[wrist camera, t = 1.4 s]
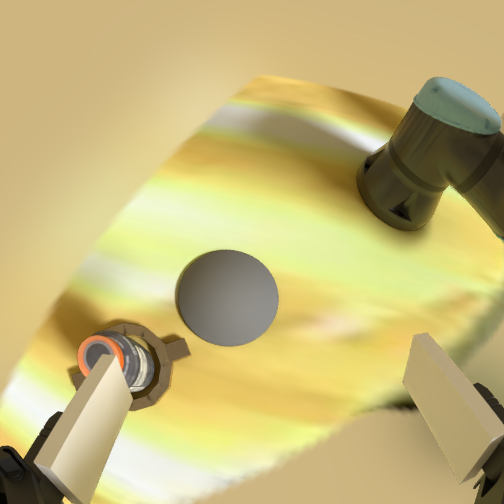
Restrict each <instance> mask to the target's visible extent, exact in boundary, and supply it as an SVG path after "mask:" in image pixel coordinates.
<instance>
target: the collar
mask: <svg viewBox="0 0 504 504" xmlns="http://www.w3.org/2000/svg"><path fill="white" fill-rule="evenodd" d="M105 330H112V331H116V332H119V333H121V334H123V335H125V336H127V335H129V336H134V337H139V338H143V339H145V340H146V341H147V342H148V343H149V344H150V345H152V346H153V347H154V348H155V350H156V353H157V356H158V358H159V361H160V364H161V369H160V375H159V382H158V384H157V385H156V386H155V387H154V389H153V390H152V391H151V392H150V393H149V395H148V396H145V397H142V398H139V399H135V400H133V401H132V403H131V406H130V408H129V411H136V410H139V409H143V408H146V407H149V406H152V405H155V404H157V403H158V402H159V401H160V399H161V398H162V397H163V396H164V395H165V393H166V392H167V391H168V390H169V389H170V387H171V380H172V373H173V362H176V361H178V360H181V359H184V358H187V357H189V356H191V353H190V351H189V348H188V346H187V343H186V341H185V339H184V338H183V339H180V340H177V341H174V342H171V343H169V344H165V343H164V342H163V341H162V340H160V339H159V338H158V337H157V336H156V335H155V334H153V333H152V332H151V331H150V330H149V329H148V328H146V327H143V326H138V325H134V324H129V323H122V324H119V325H116V326H113V327H110V328H107V329H105ZM72 379H73V382H74V385H75V388H76V391H78V389H79V388H80V386H81V385H82V383H83V382H84V380H85V377H84V375H83V373H82V372H80V373H77V374H73V375H72Z"/></svg>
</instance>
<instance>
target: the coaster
mask: <svg viewBox="0 0 504 504" xmlns="http://www.w3.org/2000/svg"><path fill="white" fill-rule="evenodd" d="M178 302H179V308H180V311H181V314H182V316H183V318H184V320H185V322H186V324H187V325H188V327H189V328H190V329H191V330H192V331H193V332H194V333H195V334H196V335H197V336H199V337H200V338H202V339H203V340H205V341H207V342H209V343H212V344H215V345H220V346H239V345H243V344H246V343H249V342H251V341H253V340H255V339H256V338H258V337H259V336H261V335H262V334H263V333H264V332H265V331H266V330H267V329H268V327H269V326H270V325H271V323H272V322H273V320H274V318H275V315H276V312H277V309H278V289H277V286H276V283H275V280H274V278H273V276H272V275H271V273H270V272H269V270H268V269H267V268H266V267H265V266H264V265H263V264H262V263H261V262H260V261H259V260H257V259H256V258H254V257H253V256H250V255H248V254H246V253H243V252H239V251H234V250H221V251H215V252H211V253H209V254H206V255H204V256H202V257H201V258H199V259H198V260H196V261H195V262H194V263H193V264H192V265H191V266H190V267H189V268H188V269H187V271H186V272H185V274H184V276H183V278H182V280H181V283H180V286H179V293H178Z"/></svg>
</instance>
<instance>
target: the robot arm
mask: <svg viewBox="0 0 504 504" xmlns="http://www.w3.org/2000/svg"><path fill="white" fill-rule="evenodd" d="M500 129H501V119H500V117H499V115H498V114H497V112H496V111H495V110H494V109H493V108H492V107H491V106H490V104H489V103H488V102H487V101H486V100H485V99H483V98H482V97H481V96H480V95H478V94H477V93H476V92H474V91H473V90H471V89H470V88H468V87H466V86H465V85H463V84H461V83H459V82H456V81H454V80H451V79H448V78H444V77H434V78H431V79H429V80H428V81H427V82H426V83H425V85H424V86H423V88H422V89H421V90H420V92H419V93H418V94H417V95H416V96H415V97H414V102H413V103H412V105H411V107H410V108H409V110H408V112H407V113H406V115H405V117H404V118H403V120H402V121H401V123H400V125H399V126H398V128H397V129H396V131H395V132H394V134H393V136H392V137H391V139H390V140H389V142H388V143H386V144H385V145H383V146H382V147H380V148H379V149H378V150H376V151H375V152H373V153H372V154H370V155H369V156H368V157H367V158H366V159H365V160H364V162H363V163H362V165H361V167H360V168H359V170H358V174H357V184H358V188H359V191H360V194H361V196H362V198H363V200H364V201H365V203H366V204H367V206H368V207H369V208H370V209H371V211H372V212H373V213H374V214H375V215H376V216H378V217H379V218H380V219H381V220H383V221H384V222H385V223H387V224H389V225H391V226H393V227H395V228H397V229H401V230H406V231H413V230H417V229H419V228H421V227H423V226H424V225H425V224H426V223H427V222H428V221H429V220H430V219H431V218H432V216H433V215H434V212H435V210H436V208H437V205H438V203H439V201H440V198H441V196H442V194H443V191H444V190H445V189H446V188H447V187H448V186H449V185H450V184H451V185H452V186H453V187H454V188H455V189H456V190H457V191H458V192H459V193H460V194H461V195H462V196H463V197H464V198H465V199H466V200H467V201H468V202H469V204H470V205H471V206H472V207H473V208H474V209H475V210H476V211H477V213H478V214H479V215H480V216H481V217H482V218H483V220H484V221H485V222H486V223H487V224H488V226H489V227H490V228H491V229H492V231H493V233H494V234H495V235H496V236H497V237H498V238H499V239H501V240H502V241H503V242H504V134H503V133H502V132H501V131H500ZM402 382H403V384H404V385H405V387H406V389H407V390H408V392H409V394H410V395H411V397H412V399H413V400H414V402H415V404H416V406H417V407H418V409H419V411H420V412H421V414H422V416H423V418H424V419H425V421H426V423H427V425H428V426H429V428H430V430H431V432H432V434H433V435H434V437H435V439H436V441H437V443H438V445H439V446H440V448H441V450H442V452H443V454H444V456H445V458H446V459H447V461H448V463H449V464H450V467H451V469H452V471H453V473H454V475H455V477H456V479H457V481H458V483H459V484H461V483H463V482H465V481H467V480H469V479H471V478H473V477H475V476H476V475H477V473H478V472H479V471H480V469H481V468H482V469H483V470H484V472H485V473H484V474H483V475H482V477H481V478H480V479H479V480H478V481H477V483H476V484H475V485H474V488H473V489H476V487H477V486H478V485H479V484H480V486H479V490H478V493H477V497H476V500H475V503H474V504H504V408H503V407H502V405H500V404H499V402H498V400H497V399H496V398H494V396H493V394H492V393H491V392H490V391H489V390H488V388H486V387H484V386H483V385H481V384H479V383H476V384H474V385H472V384H471V382H470V381H469V380H468V379H467V378H466V376H465V375H464V374H463V373H462V372H461V370H460V369H459V368H458V367H457V366H456V365H455V363H454V362H453V361H452V360H451V359H450V358H449V356H448V355H447V354H446V353H445V352H444V351H443V350H442V348H441V347H440V346H439V345H438V344H437V343H436V342H435V340H434V339H433V338H432V337H431V336H430V335H429V334H428V333H422V334H417V335H413V340H412V345H411V349H410V354H409V358H408V362H407V366H406V370H405V374H404V378H403V381H402ZM132 401H133V398H132V396H131V393H130V390H129V388H128V385H127V383H126V380H125V377H124V375H123V372H122V369H121V366H120V364H119V361H118V358H117V355H107V354H102V355H101V357H100V358H99V360H98V361H97V363H96V364H95V365H94V367H93V368H92V370H91V371H90V373H89V374H88V376H87V377H86V379H85V380H84V382H83V383H82V385H81V386H80V388H79V389H78V391H77V392H76V394H75V395H74V397H73V398H72V400H71V401H70V403H69V405H68V406H67V408H66V409H65V411H64V412H59V411H58V412H56V413H55V414H54V415H53V416H51V417H50V418H49V419H48V421H47V422H46V424H45V426H44V429H42V430H41V432H40V433H39V436H37V438H36V440H35V441H34V443H33V444H32V446H31V448H30V449H29V451H28V452H27V454H26V456H25V457H24V459H23V458H22V457H21V456H20V455H19V453H18V452H17V451H16V450H15V449H14V448H13V447H10V446H1V447H0V504H64V503H63V501H62V500H63V497H64V496H65V497H66V498H67V499H68V500H69V501H70V502H71V503H73V504H90V502H91V500H92V497H93V495H94V492H95V489H96V487H97V484H98V482H99V479H100V477H101V474H102V472H103V469H104V467H105V464H106V462H107V459H108V457H109V455H110V452H111V450H112V447H113V445H114V443H115V440H116V438H117V436H118V433H119V431H120V429H121V426H122V424H123V422H124V419H125V417H126V415H127V412H128V410H129V408H130V406H131V403H132Z"/></svg>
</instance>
